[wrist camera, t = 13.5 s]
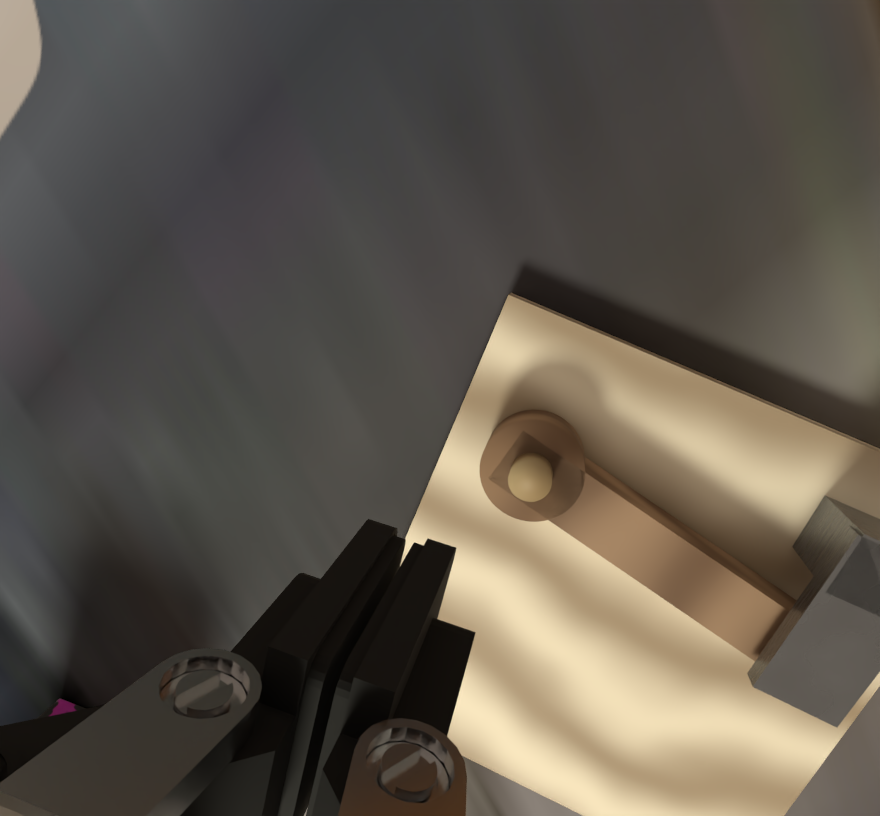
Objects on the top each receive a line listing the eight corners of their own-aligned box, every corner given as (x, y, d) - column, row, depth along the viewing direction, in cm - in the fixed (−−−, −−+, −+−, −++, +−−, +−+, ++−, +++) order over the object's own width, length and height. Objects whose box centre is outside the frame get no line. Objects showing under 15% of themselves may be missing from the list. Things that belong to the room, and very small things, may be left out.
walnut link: (467, 466, 34) (455, 491, 31) (521, 390, 33) (515, 407, 29) (797, 692, 33) (823, 744, 30) (867, 624, 32) (904, 671, 28)
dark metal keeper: (818, 492, 31) (856, 530, 27) (901, 528, 31) (954, 573, 27) (729, 632, 34) (751, 687, 29) (806, 667, 33) (840, 729, 29)
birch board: (511, 292, 33) (508, 294, 32) (991, 495, 31) (1011, 507, 30) (347, 678, 41) (339, 694, 40) (724, 865, 39) (729, 888, 37)
